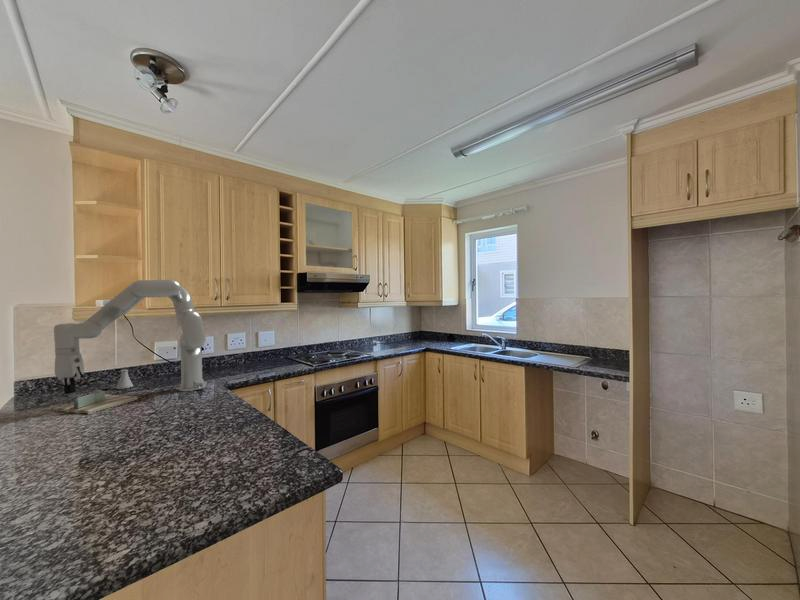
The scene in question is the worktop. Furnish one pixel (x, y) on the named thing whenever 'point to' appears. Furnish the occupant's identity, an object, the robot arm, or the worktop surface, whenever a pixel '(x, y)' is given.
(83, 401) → the lock lever
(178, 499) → the worktop surface
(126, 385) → the flask
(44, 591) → the worktop surface
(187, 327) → the robot arm
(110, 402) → the lock base
